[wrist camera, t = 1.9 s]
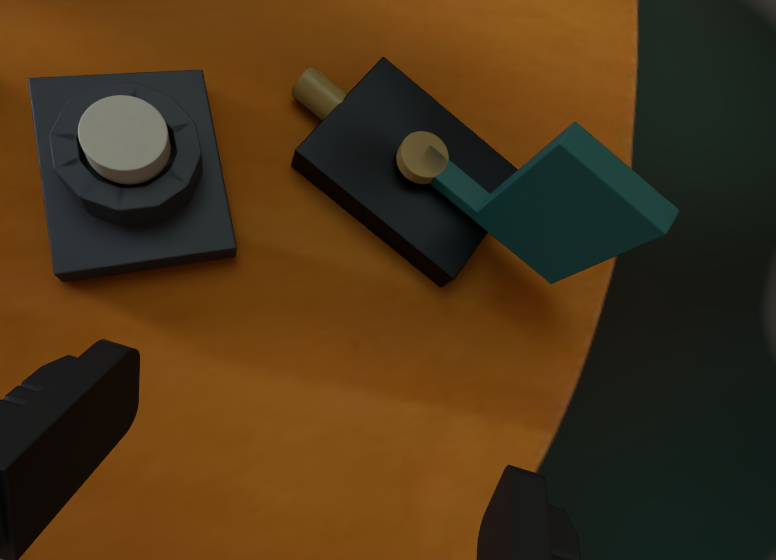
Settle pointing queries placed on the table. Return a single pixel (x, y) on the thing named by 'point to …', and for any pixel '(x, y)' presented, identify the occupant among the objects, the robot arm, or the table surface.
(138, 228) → the button housing
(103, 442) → the robot arm
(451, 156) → the valve block
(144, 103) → the button
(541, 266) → the valve lever
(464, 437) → the table surface
